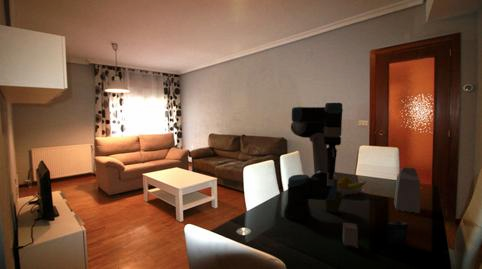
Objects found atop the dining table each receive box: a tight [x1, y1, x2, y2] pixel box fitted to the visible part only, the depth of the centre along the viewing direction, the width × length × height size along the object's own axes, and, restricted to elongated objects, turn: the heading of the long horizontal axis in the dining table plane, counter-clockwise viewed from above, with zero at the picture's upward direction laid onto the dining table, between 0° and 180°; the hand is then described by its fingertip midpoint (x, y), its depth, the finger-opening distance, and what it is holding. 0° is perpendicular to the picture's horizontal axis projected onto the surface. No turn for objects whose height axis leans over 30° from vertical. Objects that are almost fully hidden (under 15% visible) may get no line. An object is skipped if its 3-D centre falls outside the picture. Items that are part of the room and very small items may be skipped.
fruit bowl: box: [336, 175, 366, 196], centre depth 176 cm, size 28×27×11 cm
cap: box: [341, 222, 359, 246], centre depth 104 cm, size 5×5×8 cm
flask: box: [386, 218, 409, 245], centre depth 107 cm, size 9×3×11 cm, turn 95°
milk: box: [393, 166, 421, 214], centre depth 145 cm, size 12×12×26 cm
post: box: [341, 239, 360, 250], centre depth 105 cm, size 6×6×8 cm
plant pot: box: [324, 191, 346, 213], centre depth 142 cm, size 12×12×11 cm
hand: (330, 185), depth 112 cm, fingers closed
